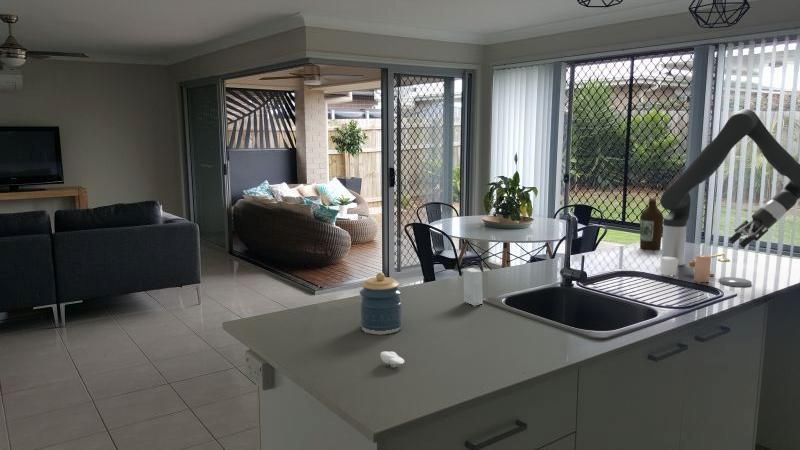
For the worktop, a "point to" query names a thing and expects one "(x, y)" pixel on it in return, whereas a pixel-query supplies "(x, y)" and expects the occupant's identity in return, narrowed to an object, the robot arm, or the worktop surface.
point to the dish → (735, 281)
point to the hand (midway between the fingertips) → (735, 243)
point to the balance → (692, 263)
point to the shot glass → (669, 265)
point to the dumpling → (391, 358)
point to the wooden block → (702, 268)
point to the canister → (381, 304)
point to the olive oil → (651, 227)
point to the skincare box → (472, 286)
